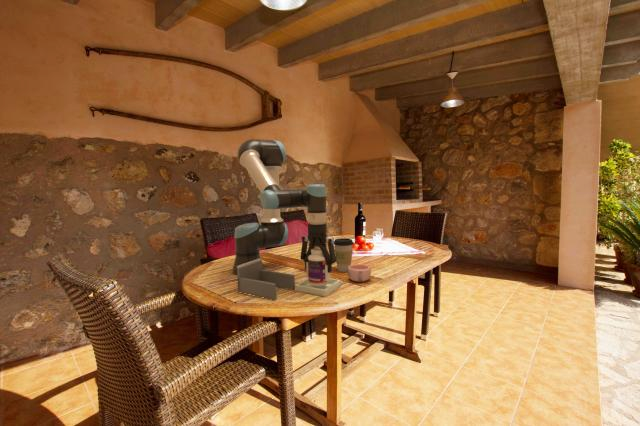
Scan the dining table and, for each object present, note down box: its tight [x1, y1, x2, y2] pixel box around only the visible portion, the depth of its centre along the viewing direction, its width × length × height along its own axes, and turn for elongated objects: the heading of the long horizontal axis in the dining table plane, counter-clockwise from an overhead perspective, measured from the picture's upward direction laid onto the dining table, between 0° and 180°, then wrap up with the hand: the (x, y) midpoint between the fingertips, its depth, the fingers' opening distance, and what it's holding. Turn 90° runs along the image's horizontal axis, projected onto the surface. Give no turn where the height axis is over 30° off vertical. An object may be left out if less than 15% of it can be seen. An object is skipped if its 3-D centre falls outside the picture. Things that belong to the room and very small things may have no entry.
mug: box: [347, 263, 372, 283], centre depth 134 cm, size 12×10×6 cm
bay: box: [236, 258, 296, 301], centre depth 121 cm, size 18×13×11 cm
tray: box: [294, 278, 342, 298], centre depth 123 cm, size 14×14×2 cm
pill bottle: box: [307, 248, 328, 286], centre depth 122 cm, size 8×8×14 cm
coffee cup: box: [333, 237, 354, 273], centre depth 148 cm, size 10×10×15 cm
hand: (318, 278), depth 123 cm, fingers closed on pill bottle, 8 cm apart
